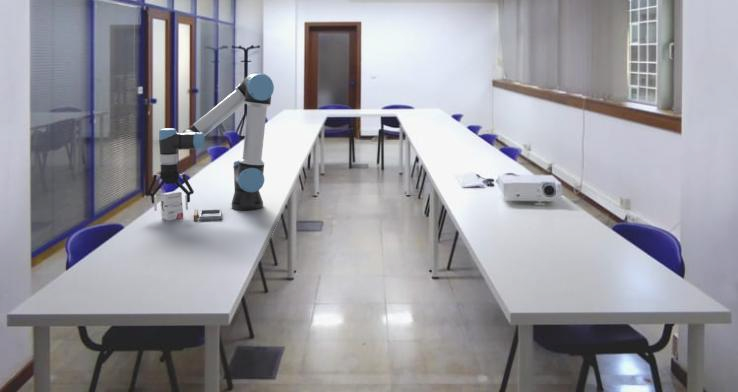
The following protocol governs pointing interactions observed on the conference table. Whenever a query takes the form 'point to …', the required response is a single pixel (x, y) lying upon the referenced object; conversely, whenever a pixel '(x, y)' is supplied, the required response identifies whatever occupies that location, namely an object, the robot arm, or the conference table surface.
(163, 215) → the ink box
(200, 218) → the frame
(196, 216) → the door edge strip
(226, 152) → the conference table surface
